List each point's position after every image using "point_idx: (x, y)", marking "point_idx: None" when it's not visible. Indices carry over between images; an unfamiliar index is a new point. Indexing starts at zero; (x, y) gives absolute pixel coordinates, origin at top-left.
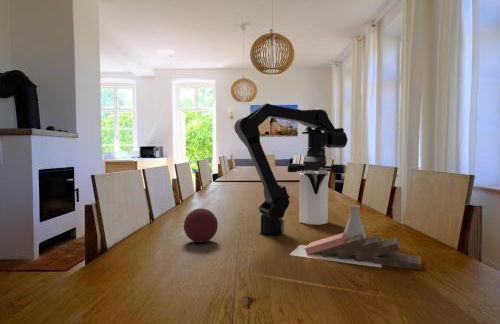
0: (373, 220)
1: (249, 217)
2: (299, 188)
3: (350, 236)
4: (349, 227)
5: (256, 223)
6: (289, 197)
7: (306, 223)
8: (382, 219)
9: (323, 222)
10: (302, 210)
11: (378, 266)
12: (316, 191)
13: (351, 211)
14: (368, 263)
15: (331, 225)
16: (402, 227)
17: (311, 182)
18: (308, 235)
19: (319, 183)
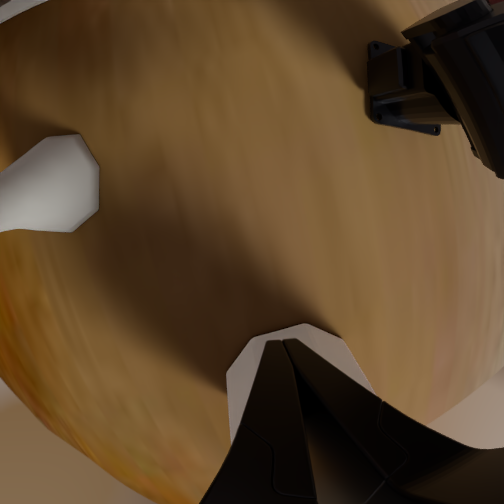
0: (107, 442)
1: (487, 315)
2: None
3: (59, 138)
4: (44, 152)
5: (475, 247)
6: (466, 38)
7: (310, 326)
8: (95, 452)
9: (239, 360)
10: (350, 369)
11: None
12: (277, 353)
13: None
14: None
15: (201, 352)
16: (15, 386)
17: (400, 419)
18: (254, 119)
19: (240, 441)
